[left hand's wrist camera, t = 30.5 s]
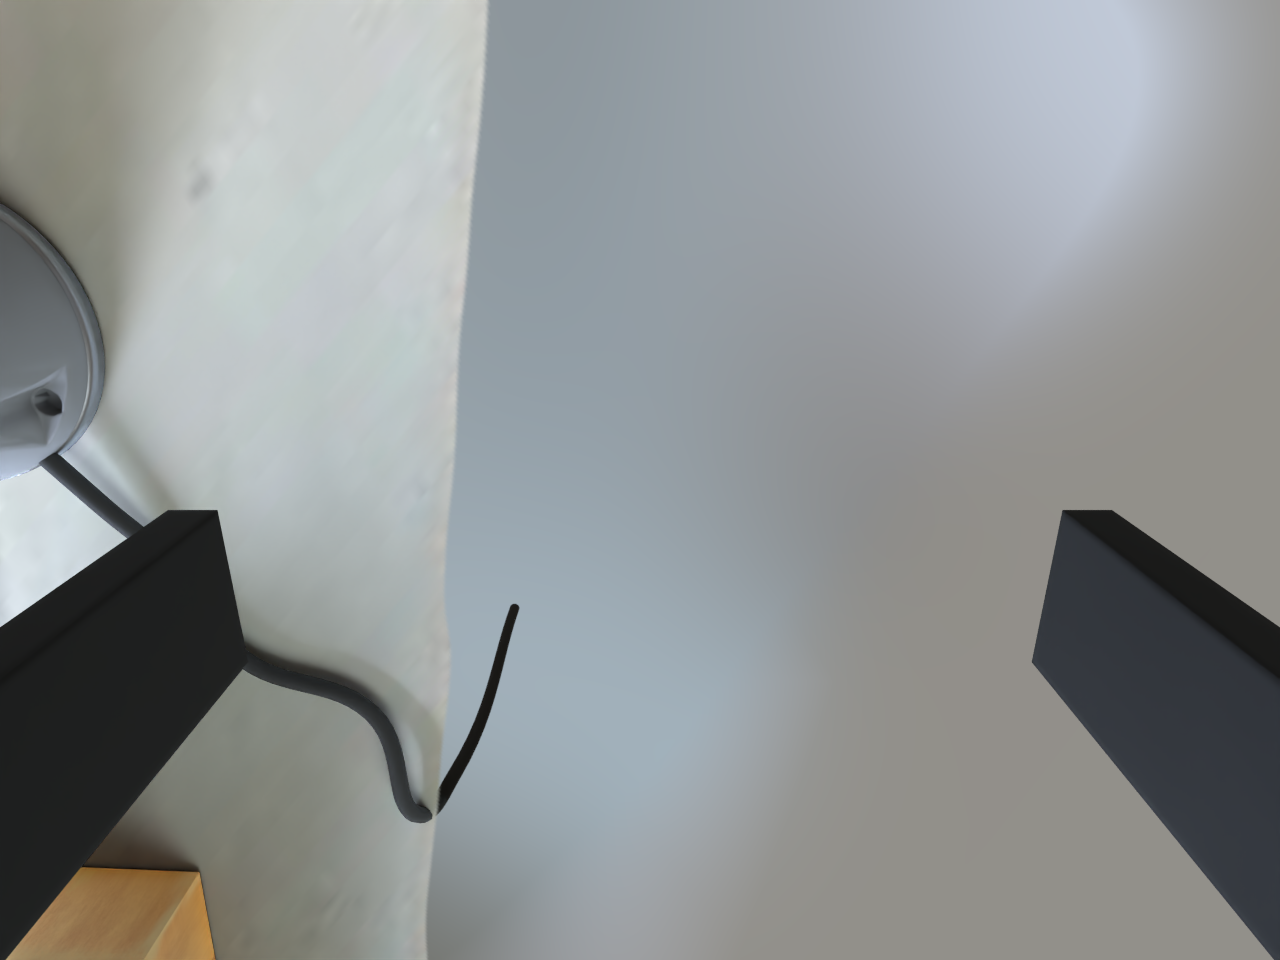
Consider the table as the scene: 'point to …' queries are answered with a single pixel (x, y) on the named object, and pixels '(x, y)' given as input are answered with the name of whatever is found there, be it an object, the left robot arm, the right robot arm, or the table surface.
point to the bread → (123, 918)
